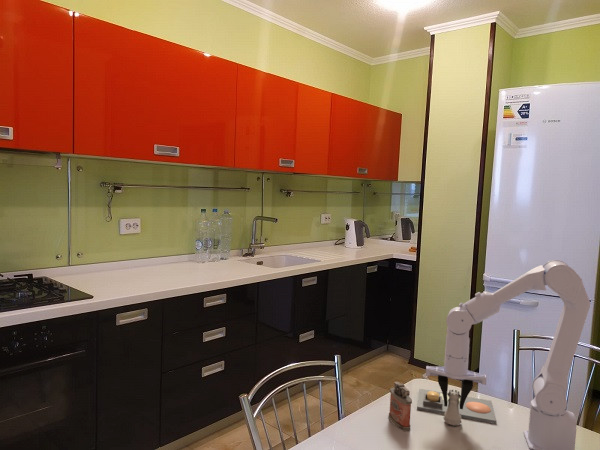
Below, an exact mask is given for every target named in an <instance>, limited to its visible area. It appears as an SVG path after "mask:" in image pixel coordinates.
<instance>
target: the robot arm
mask: <svg viewBox="0 0 600 450" xmlns="http://www.w3.org/2000/svg"><path fill="white" fill-rule="evenodd" d="M546 286H547V287H548V288H550V289H551V290H552V291H553V292H554V293H555V294H557V295H558V296H559V298H560V300H561V301H562V302H563V306H562V309H561V311H560V315H559V319H558V322H557V325H556V328H555V332H554V335H553V338H552V341H551V345H550V348H549V350H548V353H547V357H546V359H545V360H546V361H545V363H544V364H543V366H542V367H541V369H540V373H538V375H537V376H536V377H534V378H533V380H532V383H531V386H532V390H533V393H534V395H535V396H534V398H533V399H532V400H531V401H530V406H529V407H530V409H529V418H528V419H529V421H528V430H523V435H524V437H525V440H526V443H527V445H528V449H529V450H575V449H576V441H577V439H576V438H577V419H576V415H575V413H573V412H572V411H569V410H566V409H567V407H568V401H567V397H566V394H567V390H568V377H569V376H568V375H569V373H570V369H571V366H572V363H573V361H574V357H575V354H576V351H577V347H578V345H579V341H580V338H581V336H582V333H583V329H584V326H585V323H586V319H587V316H588V314H589V311H590V308H591V300H590V299H589V296H588V293H587V291H586V288H585V285H584V282H583V279H582V277H581V276H580V275H579V274H578V273H577V272H576V271H575V270H574V269H573V268H572V267H571V266H569V265H568V264H567V263H565V262H564V261H563V260H559V259H553V260H552V259H551V260H549V261H547V262H545V263H544V264H543V265H542V264H540V265H538V266H536V267H534V268H532V269H530V270H528V271H527V272H524V273H523V274H522V275H520V276H518V277H517V278H515V279H513V280H512V281H510V282H509V283H507V284H505V285H504V286H502V287H501V288H499V289H497V290H496V291H494V292H489V291H483V292H480V291H478V292H476V293H475V294H474V297H472V298H471V299H468V300H467V301H466V302H460V303H459V304H458V306H456V307H452V308H451V309H450V310H449V312H448V314H447V316H446V322H445V323H446V326H447V328H446V334H445V344H444V345H445V348H444V362H443V363H444V364H443V366H431V365H430V366H429V365H426V366H425V367H426V368H425V376H427V377H430V376H433V377H437V383H438V385H439V387H440V389H441V391H440V392H442V394H443V398H444V406H446V407H447V393H448V391H449V389H448V387H449V379H451V380H452V379H453V380H460V381H461V383H460V385H461V389H460V390H461V391H460V396H461V397H460V409H463V406H464V403H465V400H466V398H467V397H469V396H468V395H469V394H470V393H471V391H472V389H473V387H474V383H478V384H481V385H486V386H487V375H486V374H485V373H479V372H475V371H472V370H469V354H470V341H471V338H470V337H469V336H470V330H471V328H472V325H477V324H479V323H481V322H483V321H484V320H486V319H489V318H490V317H493V316H494V315H495V314H497V313H499V312H500V308H501V305H502V304H505V303H506V302H508V301H510V300H513V299H515V298H517V297H519V296H520V295H523V294H525V293H526V292H528V291H531V290H535V291H536V290H537V291H547V288H546Z"/></svg>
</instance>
